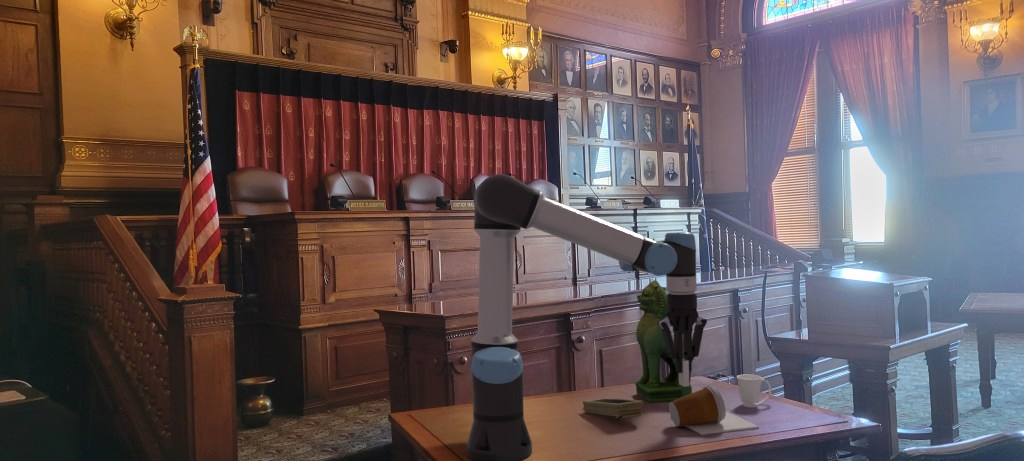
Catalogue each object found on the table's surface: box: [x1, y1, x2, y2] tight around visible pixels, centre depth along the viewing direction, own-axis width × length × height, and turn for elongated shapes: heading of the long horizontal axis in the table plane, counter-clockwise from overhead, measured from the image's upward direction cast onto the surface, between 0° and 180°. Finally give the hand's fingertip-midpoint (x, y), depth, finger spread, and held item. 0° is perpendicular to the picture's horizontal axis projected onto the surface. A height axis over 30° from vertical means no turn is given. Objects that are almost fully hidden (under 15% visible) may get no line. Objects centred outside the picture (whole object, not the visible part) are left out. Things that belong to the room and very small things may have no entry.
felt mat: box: [670, 411, 759, 436], centre depth 186 cm, size 16×16×1 cm
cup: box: [736, 373, 773, 408], centre depth 202 cm, size 7×10×8 cm
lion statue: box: [634, 279, 694, 404], centre depth 214 cm, size 14×17×35 cm
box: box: [582, 397, 644, 421], centre depth 194 cm, size 8×22×5 cm, turn 25°
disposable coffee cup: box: [668, 385, 727, 427], centre depth 183 cm, size 10×10×12 cm
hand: (684, 385), depth 183 cm, fingers closed
